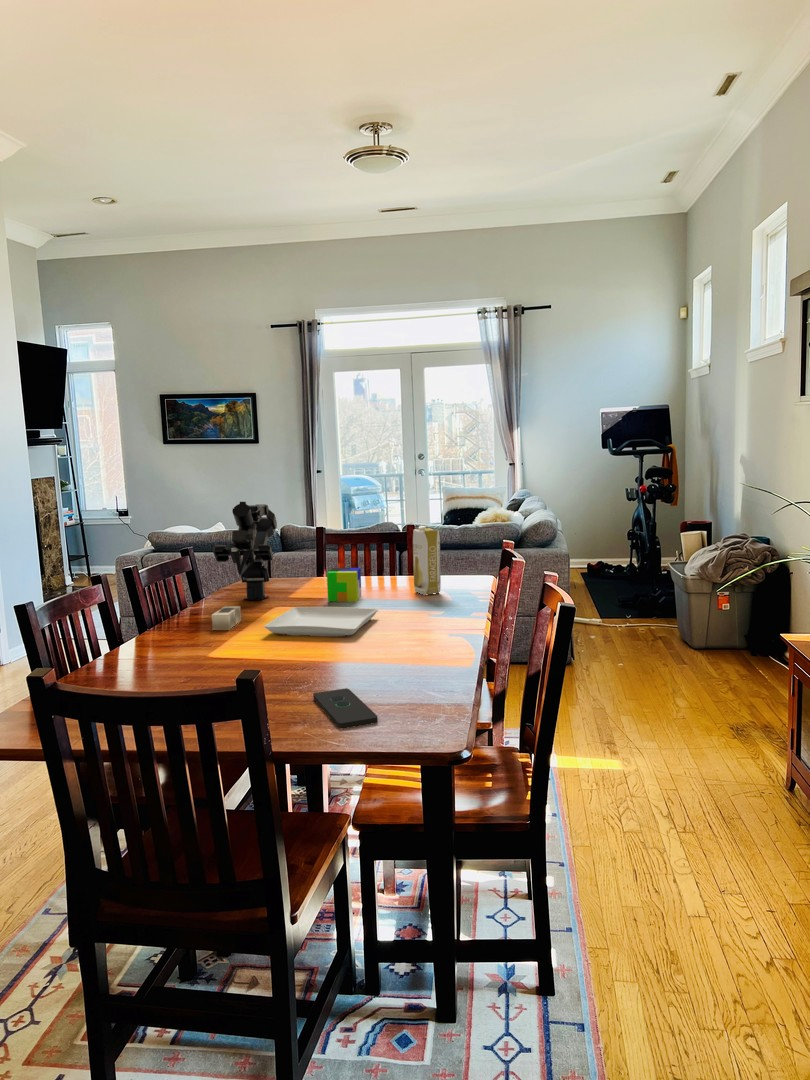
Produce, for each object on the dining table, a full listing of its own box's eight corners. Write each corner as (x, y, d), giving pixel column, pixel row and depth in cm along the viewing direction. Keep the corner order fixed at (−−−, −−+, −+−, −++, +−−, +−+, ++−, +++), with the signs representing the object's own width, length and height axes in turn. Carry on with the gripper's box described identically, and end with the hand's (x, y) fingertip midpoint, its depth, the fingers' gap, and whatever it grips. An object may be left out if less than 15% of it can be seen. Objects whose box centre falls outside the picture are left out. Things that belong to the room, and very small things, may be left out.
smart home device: (348, 687, 172) (379, 716, 153) (348, 694, 172) (379, 724, 153) (311, 692, 168) (338, 722, 150) (311, 700, 169) (338, 731, 150)
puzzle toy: (361, 595, 278) (360, 567, 277) (356, 601, 268) (355, 572, 267) (333, 596, 279) (332, 568, 278) (328, 601, 269) (326, 572, 268)
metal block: (224, 605, 243) (211, 614, 231) (240, 605, 242) (228, 614, 230) (225, 622, 243) (212, 631, 232) (241, 621, 243) (229, 631, 231)
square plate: (356, 641, 217) (355, 627, 216) (262, 638, 222) (262, 625, 222) (379, 619, 243) (378, 606, 242) (294, 617, 248) (294, 605, 248)
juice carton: (411, 592, 282) (410, 525, 278) (431, 589, 285) (430, 524, 282) (423, 596, 273) (421, 528, 270) (443, 594, 276) (442, 526, 273)
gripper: (212, 521, 257) (205, 559, 248) (269, 520, 257) (264, 558, 247) (220, 542, 266) (213, 580, 257) (275, 540, 266) (270, 578, 256)
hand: (239, 574), depth 254 cm, fingers closed
